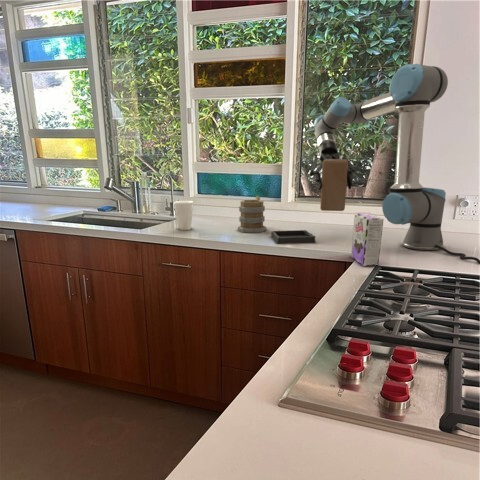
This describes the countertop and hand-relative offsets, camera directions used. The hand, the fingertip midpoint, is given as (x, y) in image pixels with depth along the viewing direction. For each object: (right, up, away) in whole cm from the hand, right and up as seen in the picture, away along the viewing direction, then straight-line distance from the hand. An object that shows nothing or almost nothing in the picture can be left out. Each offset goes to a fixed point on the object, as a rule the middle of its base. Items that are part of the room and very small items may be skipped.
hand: (335, 187), depth 190 cm
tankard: (-33, -10, +37) cm, 51 cm away
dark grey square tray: (-17, -19, +13) cm, 28 cm away
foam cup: (-67, -10, +40) cm, 78 cm away
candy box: (+5, -34, -25) cm, 43 cm away
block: (0, -8, +6) cm, 10 cm away
